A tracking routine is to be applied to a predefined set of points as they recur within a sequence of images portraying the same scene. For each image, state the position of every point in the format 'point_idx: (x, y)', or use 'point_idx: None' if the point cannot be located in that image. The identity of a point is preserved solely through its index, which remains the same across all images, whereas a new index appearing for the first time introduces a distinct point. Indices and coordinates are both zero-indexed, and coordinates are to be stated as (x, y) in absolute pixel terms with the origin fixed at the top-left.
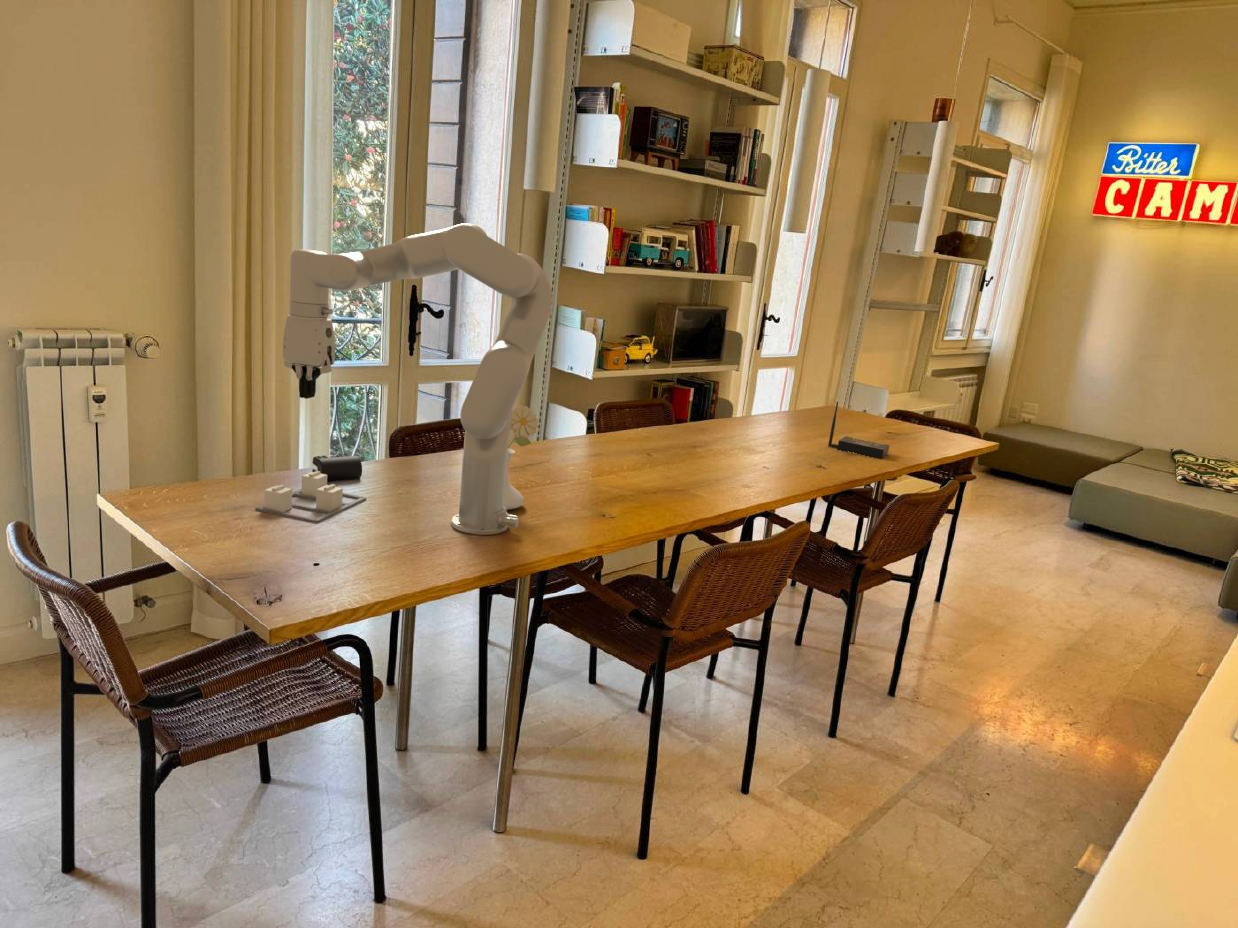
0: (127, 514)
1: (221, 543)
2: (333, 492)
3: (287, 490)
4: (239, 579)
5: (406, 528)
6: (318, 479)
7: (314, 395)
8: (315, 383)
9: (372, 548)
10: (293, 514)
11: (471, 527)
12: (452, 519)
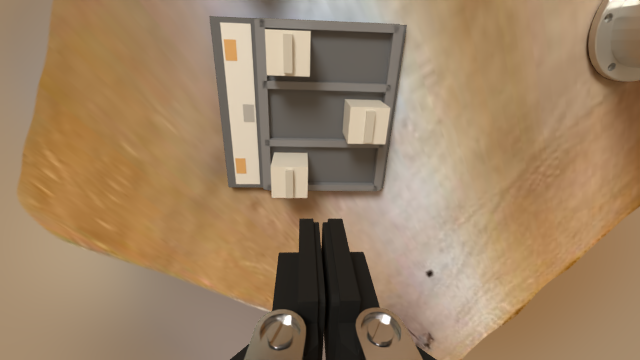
0: (129, 261)
1: None
2: (385, 141)
3: (306, 179)
4: None
5: (506, 110)
6: (309, 72)
7: (342, 222)
8: (376, 299)
9: (476, 207)
10: (333, 186)
11: (634, 70)
12: (597, 44)
